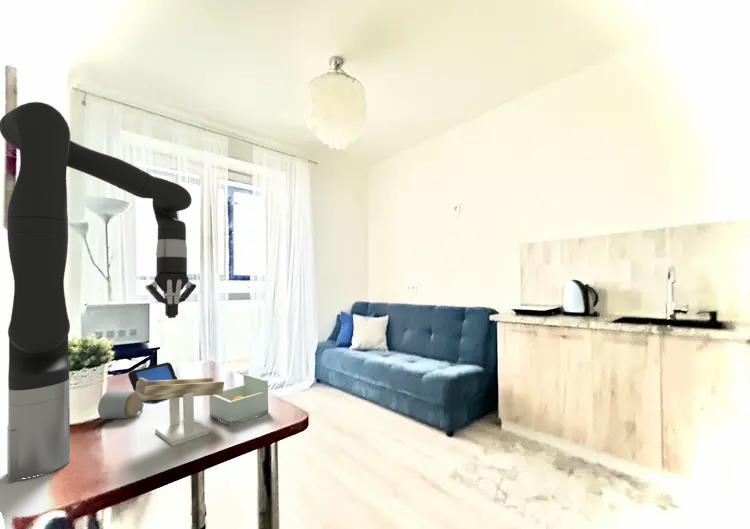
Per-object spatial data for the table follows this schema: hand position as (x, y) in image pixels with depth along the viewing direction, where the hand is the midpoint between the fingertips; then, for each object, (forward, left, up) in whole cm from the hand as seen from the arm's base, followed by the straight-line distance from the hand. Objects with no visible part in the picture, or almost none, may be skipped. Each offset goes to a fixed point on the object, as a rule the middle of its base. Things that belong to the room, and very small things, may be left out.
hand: (171, 317), depth 100 cm
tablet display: (+6, +27, -28) cm, 39 cm away
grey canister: (-8, +14, -28) cm, 32 cm away
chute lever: (-3, -9, -18) cm, 20 cm away
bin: (+12, -14, -28) cm, 33 cm away
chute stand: (-3, -14, -28) cm, 31 cm away
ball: (+12, -14, -25) cm, 31 cm away
